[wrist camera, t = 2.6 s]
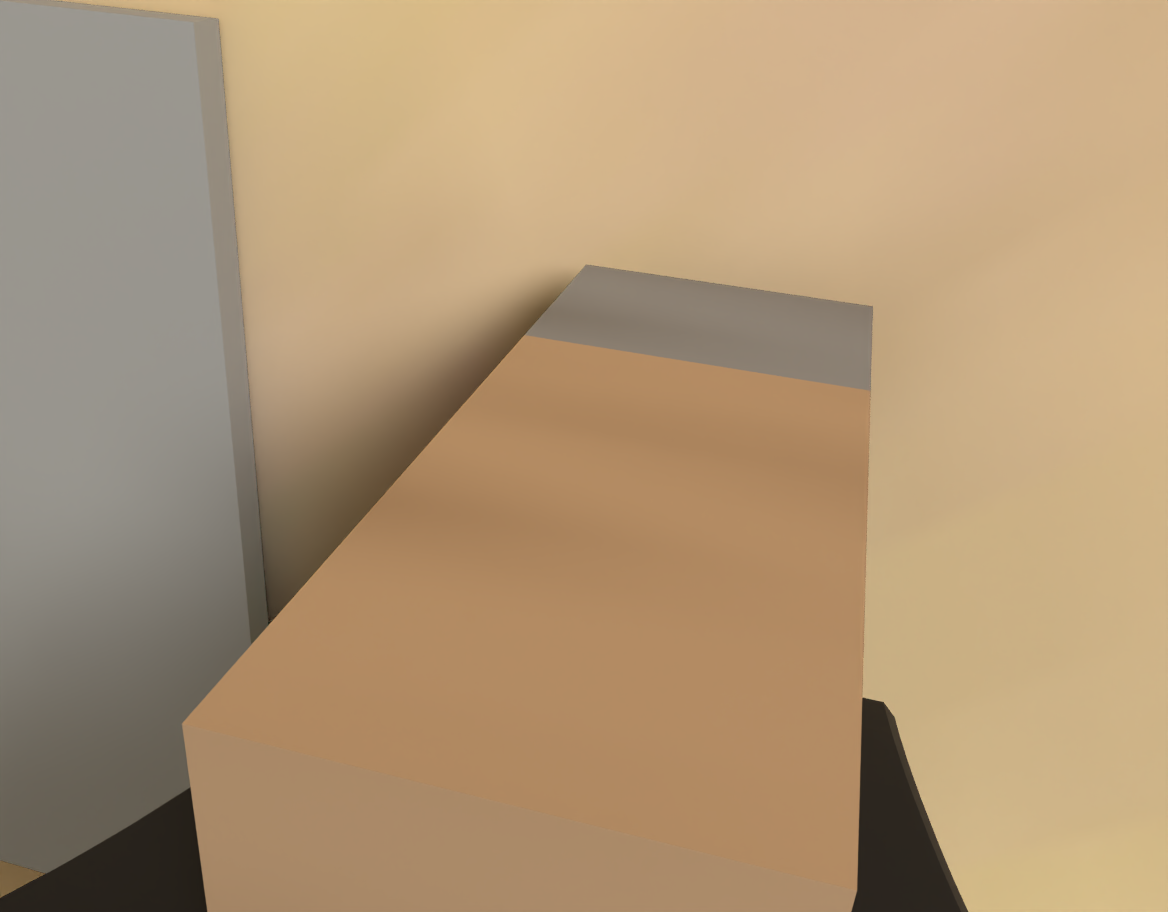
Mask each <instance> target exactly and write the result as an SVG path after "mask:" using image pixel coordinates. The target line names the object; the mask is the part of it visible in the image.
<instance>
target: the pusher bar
mask: <svg viewBox="0 0 1168 912" xmlns="http://www.w3.org/2000/svg"><path fill="white" fill-rule="evenodd" d="M872 319H873V306H866V305H859V304H852V303H845V302H838V301H832V300H825V299H818V298H811V297H804V296H797V295H790V294H784V293H777V292H770V291H763V290H756V289H749V288H743V287H736V286H729V285H722V284H715V283H708V282H701V281H695V280H688V279H681V278H674V277H667V276H660V275H654V274H647V273H640V272H633V271H626V270H619V269H612V268H606V267H599V266H592V265H586V266H585V267H584V268H583V269H582V270H581V271H580V272H579V274H578V275H577V276H576V277H575V278H574V279H573V280H572V282H571V283H570V284H569V285H568V286H567V287H566V288H565V289H564V291H563V292H562V293H561V294H560V295H559V296H558V297H557V299H556V300H555V301H554V302H553V303H552V304H551V305H550V307H549V308H548V309H547V310H546V311H545V312H544V313H543V314H542V316H541V317H540V318H539V319H538V320H537V321H536V322H535V324H534V325H533V326H532V327H531V328H530V329H529V330H528V331H527V333H526V334H525V335H524V336H523V337H522V338H521V339H520V341H519V342H518V343H517V344H516V345H515V346H514V347H513V348H512V350H511V351H510V352H509V353H508V354H507V355H506V356H505V358H504V359H503V360H502V361H501V362H500V363H499V364H498V366H497V367H496V368H495V369H494V370H493V371H492V372H491V373H490V375H489V376H488V377H487V378H486V379H485V380H484V381H483V383H482V384H481V385H480V386H479V387H478V388H477V389H476V390H475V392H474V393H473V394H472V395H471V396H470V397H469V398H468V400H467V401H466V402H465V403H464V404H463V405H462V406H461V408H460V409H459V410H458V411H457V412H456V413H455V414H454V415H453V417H452V418H451V419H450V420H449V421H448V422H447V423H446V425H445V426H444V427H443V428H442V429H441V430H440V431H439V432H438V434H437V435H436V436H435V437H434V438H433V439H432V440H431V442H430V443H429V444H428V445H427V446H426V447H425V448H424V449H423V451H422V452H421V453H420V454H419V455H418V456H417V457H416V459H415V460H414V461H413V462H412V463H411V464H410V465H409V467H408V468H407V469H406V470H405V471H404V472H403V473H402V474H401V476H400V477H399V478H398V479H397V480H396V481H395V482H394V484H393V485H392V486H391V487H390V488H389V489H388V490H387V491H386V493H385V494H384V495H383V496H382V497H381V498H380V499H379V501H378V502H377V503H376V504H375V505H374V506H373V507H372V509H371V510H370V511H369V512H368V513H367V514H366V515H365V516H364V518H363V519H362V520H361V521H360V522H359V523H358V524H357V526H356V527H355V528H354V529H353V530H352V531H351V532H350V533H349V535H348V536H347V537H346V538H345V539H344V540H343V541H342V543H341V544H340V545H339V546H338V547H337V548H336V549H335V550H334V552H333V553H332V554H331V555H330V556H329V557H328V558H327V560H326V561H325V562H324V563H323V564H322V565H321V566H320V568H319V569H318V570H317V571H316V572H315V573H314V574H313V575H312V577H311V578H310V579H309V580H308V581H307V582H306V583H305V585H304V586H303V587H302V588H301V589H300V590H299V591H298V592H297V594H296V595H295V596H294V597H293V598H292V599H291V600H290V602H289V603H288V604H287V605H286V606H285V607H284V608H283V609H282V611H281V612H280V613H279V614H278V615H277V616H276V617H275V619H274V620H273V621H272V622H271V623H270V624H269V625H268V627H267V628H266V629H265V630H264V631H263V632H262V633H261V634H260V636H259V637H258V638H257V639H256V640H255V641H254V642H253V644H252V645H251V646H250V647H249V648H248V649H247V650H246V651H245V653H244V654H243V655H242V656H241V657H240V658H239V659H238V661H237V662H236V663H235V664H234V665H233V666H232V667H231V669H230V670H229V671H228V672H227V673H226V674H225V675H224V676H223V678H222V679H221V680H220V681H219V682H218V683H217V684H216V686H215V687H214V688H213V689H212V690H211V691H210V692H209V693H208V695H207V696H206V697H205V698H204V699H203V700H202V701H201V703H200V704H199V705H198V706H197V707H196V708H195V709H194V710H193V712H192V713H191V714H190V715H189V716H188V717H187V718H186V720H185V721H184V722H183V723H182V728H183V735H184V742H185V750H186V757H187V765H188V772H189V779H190V787H191V794H192V802H193V809H194V816H195V824H196V831H197V838H198V846H199V853H200V861H201V868H202V875H203V883H204V890H205V898H206V905H207V912H851V911H852V907H853V904H854V900H855V896H856V893H857V874H858V837H859V800H860V763H861V726H862V689H863V652H864V615H865V578H866V541H867V504H868V467H869V430H870V393H871V356H872Z"/></svg>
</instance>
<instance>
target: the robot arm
mask: <svg viewBox="0 0 1168 912" xmlns="http://www.w3.org/2000/svg"><path fill="white" fill-rule="evenodd" d="M0 912H207V905H206V898H205V890H204V883H203V875H202V868H201V861H200V853H199V846H198V838H197V831H196V824H195V816H194V809H193V802H192V794H191V787H190V788H188V789H186V790H185V791H183V792H182V793H180V794H179V795H177V796H175V797H174V798H172V799H171V800H169V801H168V802H166V803H164V804H163V805H161V806H160V807H158V808H157V809H155V810H153V811H152V812H150V813H149V814H147V815H145V816H144V817H142V818H141V819H139V820H138V821H136V822H134V823H133V824H131V825H129V826H128V827H126V828H124V829H123V830H121V831H119V832H118V833H116V834H114V835H113V836H111V837H109V838H107V839H106V840H104V841H102V842H101V843H99V844H97V845H96V846H94V847H92V848H90V849H89V850H87V851H85V852H84V853H82V854H80V855H78V856H77V857H75V858H73V859H71V860H70V861H68V862H66V863H64V864H62V865H61V866H59V867H57V868H55V869H54V870H52V871H50V872H48V873H46V874H44V875H43V876H41V877H39V878H37V879H35V880H33V881H31V882H29V883H28V884H26V885H24V886H22V887H20V888H18V889H16V890H14V891H13V892H11V893H9V894H7V895H5V896H3V897H1V898H0ZM851 912H968V910H967V908H966V906H965V904H964V902H963V899H962V897H961V895H960V893H959V891H958V888H957V886H956V884H955V882H954V880H953V877H952V875H951V872H950V870H949V868H948V865H947V863H946V861H945V858H944V856H943V853H942V851H941V849H940V846H939V844H938V841H937V839H936V836H935V834H934V831H933V828H932V826H931V823H930V821H929V818H928V816H927V813H926V811H925V808H924V805H923V803H922V800H921V798H920V795H919V792H918V789H917V786H916V784H915V781H914V778H913V775H912V772H911V770H910V767H909V764H908V761H907V758H906V755H905V751H904V748H903V745H902V742H901V739H900V735H899V732H898V729H897V725H896V721H895V717H894V716H893V715H892V713H891V712H890V710H889V709H888V708H887V706H886V705H885V704H884V702H880V701H875V700H871V699H866V698H862V726H861V763H860V800H859V837H858V874H857V893H856V896H855V900H854V904H853V907H852V911H851Z"/></svg>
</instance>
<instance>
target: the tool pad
mask: <svg viewBox="0 0 1168 912" xmlns="http://www.w3.org/2000/svg"><path fill="white" fill-rule="evenodd" d="M267 627H268V614H267V602H266V590H265V578H264V565H263V553H262V541H261V529H260V517H259V505H258V493H257V481H256V468H255V456H254V444H253V432H252V420H251V408H250V396H249V383H248V371H247V359H246V347H245V335H244V323H243V311H242V299H241V286H240V274H239V262H238V250H237V238H236V226H235V214H234V202H233V189H232V177H231V165H230V153H229V141H228V129H227V117H226V104H225V92H224V80H223V68H222V56H221V44H220V32H219V20H218V19H216V18H207V17H198V16H189V15H180V14H171V13H162V12H153V11H144V10H135V9H126V8H117V7H108V6H99V5H90V4H81V3H72V2H63V1H54V0H0V860H1V861H4V862H8V863H11V864H15V865H18V866H22V867H25V868H28V869H32V870H35V871H39V872H42V873H48V872H50V871H52V870H54V869H55V868H57V867H59V866H61V865H62V864H64V863H66V862H68V861H70V860H71V859H73V858H75V857H77V856H78V855H80V854H82V853H84V852H85V851H87V850H89V849H90V848H92V847H94V846H96V845H97V844H99V843H101V842H102V841H104V840H106V839H107V838H109V837H111V836H113V835H114V834H116V833H118V832H119V831H121V830H123V829H124V828H126V827H128V826H129V825H131V824H133V823H134V822H136V821H138V820H139V819H141V818H142V817H144V816H145V815H147V814H149V813H150V812H152V811H153V810H155V809H157V808H158V807H160V806H161V805H163V804H164V803H166V802H168V801H169V800H171V799H172V798H174V797H175V796H177V795H179V794H180V793H182V792H183V791H185V790H186V789H188V788H190V779H189V772H188V765H187V757H186V750H185V742H184V735H183V728H182V723H183V722H184V721H185V720H186V718H187V717H188V716H189V715H190V714H191V713H192V712H193V710H194V709H195V708H196V707H197V706H198V705H199V704H200V703H201V701H202V700H203V699H204V698H205V697H206V696H207V695H208V693H209V692H210V691H211V690H212V689H213V688H214V687H215V686H216V684H217V683H218V682H219V681H220V680H221V679H222V678H223V676H224V675H225V674H226V673H227V672H228V671H229V670H230V669H231V667H232V666H233V665H234V664H235V663H236V662H237V661H238V659H239V658H240V657H241V656H242V655H243V654H244V653H245V651H246V650H247V649H248V648H249V647H250V646H251V645H252V644H253V642H254V641H255V640H256V639H257V638H258V637H259V636H260V634H261V633H262V632H263V631H264V630H265V629H266V628H267Z"/></svg>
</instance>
